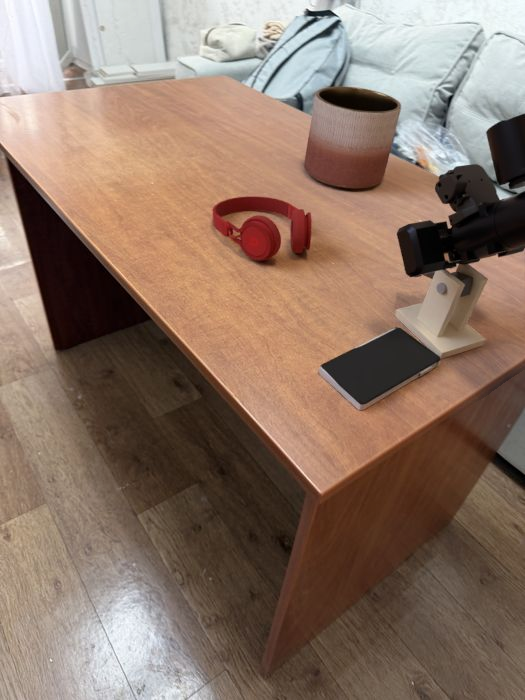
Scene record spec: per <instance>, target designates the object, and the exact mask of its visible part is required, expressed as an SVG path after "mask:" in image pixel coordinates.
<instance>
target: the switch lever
mask: <svg viewBox="0 0 525 700" xmlns="http://www.w3.org/2000/svg"><path fill="white" fill-rule="evenodd" d="M450 273H451V274H452V275H454V276H455V277H456V278H458V279H459V280H460V281H461V282H463V283H464V284H465V286H464V288H463V291H462V293H461V295H460V297H463V296H467V295H470V292H471V287H472V281H473V278H472V277H470V276H467V275H465V274H462V273H460V272H456V271H453V272H450ZM434 274H435V272H432V273H428V274H424V275H423V277H426V278H428V279H431V280H432V279H433V276H434ZM419 277H422V275H419V276H415V277H414V278H419Z"/></svg>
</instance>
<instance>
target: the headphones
mask: <svg viewBox="0 0 525 700" xmlns="http://www.w3.org/2000/svg"><path fill="white" fill-rule="evenodd" d="M243 211H244V212H245V211H246V212H247V211H258V212H259V211H261V212H267V213H274V214H276V215H277V214H278V215H281V216H283V217H285V218H287V219H289V220H290V233H289V235H290V236H289V237H290V249H291V251H292V253H294V254H302V253H303V252H304V249H305V251H310V248H311V241H312V213H311V212H310V211H308V212H307V213H305V210H304V209H303V208H298V207H296V206H294V205H292V204H291V203H289V202H287V201H285V200H282V199H278V198H274V197H267V196H259V195H258V196H257V195H256V196H253V195H252V196H251V195H250V196H248V195H247V196H237V197H233V198H227V199H225V200H221V201H219V202H218V203H216V204H215V205H214V206H213V207H212V225H213V228H214V229H215V230H217V232H219V233H220V234H221V235H222V236H223V237H225V238H227V237H228V238H230V239H231V240H232V241H233V242H234V243H235V244H236V245H238V246H239V247H240V248H241V250H242V252H243V253H244V254H245V255H246V256H247V257H248V258H250V259H251V260H254V261H268V260H270V259H271V258H273V257H275V256H276V255H277V254H278V252H279V250H280V248H281V245H282V237H281V233H280V230H279V228H278V226H277V224H276V223H275V222H274V221H273V220H271V219H270V218H269V217H267V216H265V215H260V214H257V215H253V216H251V217H248V218H247V219H246V220H244V221H243V223H242V225H241V226H240V227H239V228H238V226H235V225H234V224H233V223H232V222H230V221H229V220H225V219H224V218H223V217H224V216H225V215H229V214H232V213H237V212H243ZM234 232H236V233H237V235H234Z"/></svg>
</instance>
